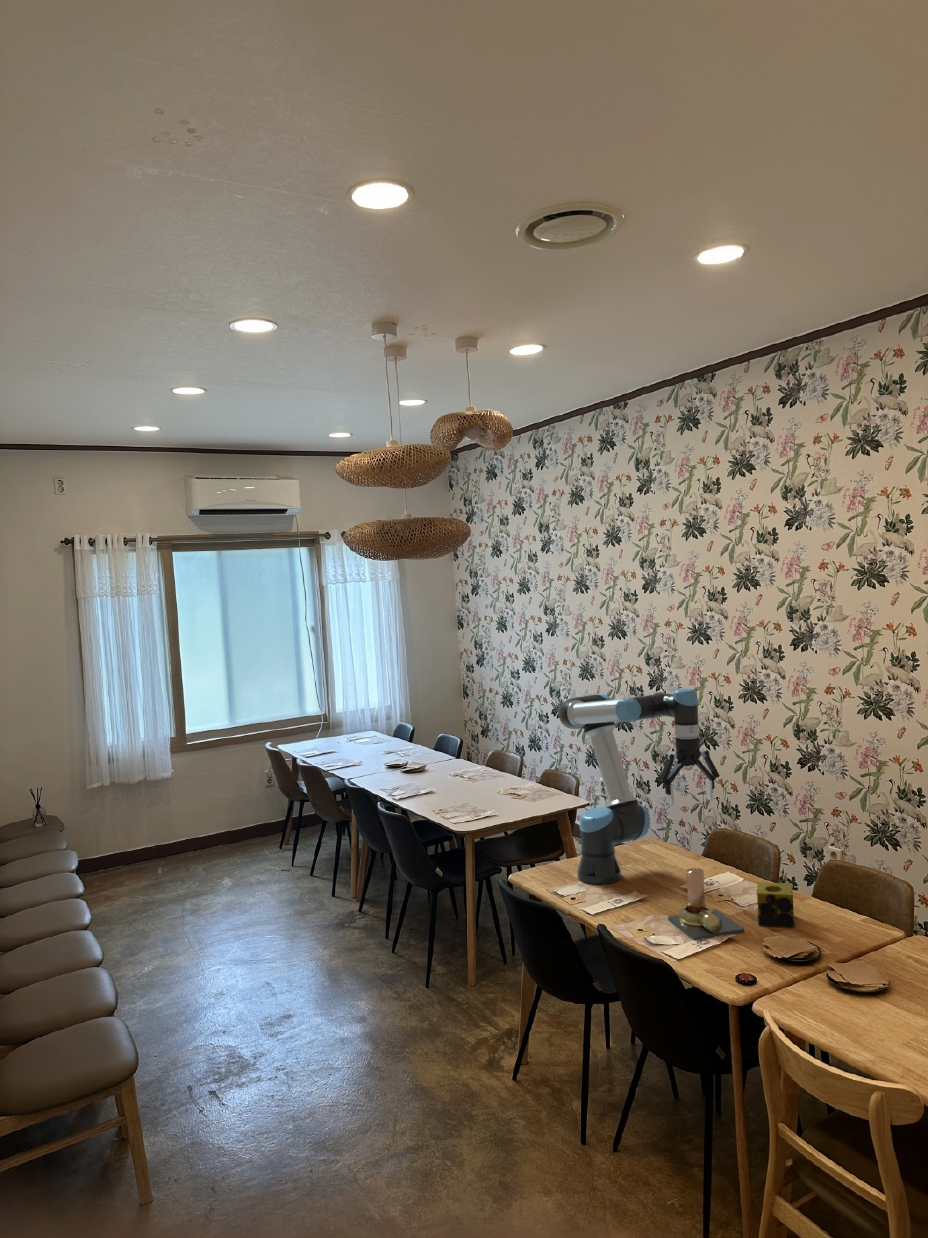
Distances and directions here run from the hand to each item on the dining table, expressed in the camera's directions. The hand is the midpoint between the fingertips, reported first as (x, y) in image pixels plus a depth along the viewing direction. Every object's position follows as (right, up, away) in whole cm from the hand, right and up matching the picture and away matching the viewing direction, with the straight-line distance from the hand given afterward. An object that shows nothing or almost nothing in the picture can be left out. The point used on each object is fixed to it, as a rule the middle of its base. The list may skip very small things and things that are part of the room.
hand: (690, 802), depth 274 cm
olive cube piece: (+19, -31, -23) cm, 43 cm away
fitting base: (-2, -32, -23) cm, 39 cm away
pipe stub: (-4, -30, -21) cm, 37 cm away
